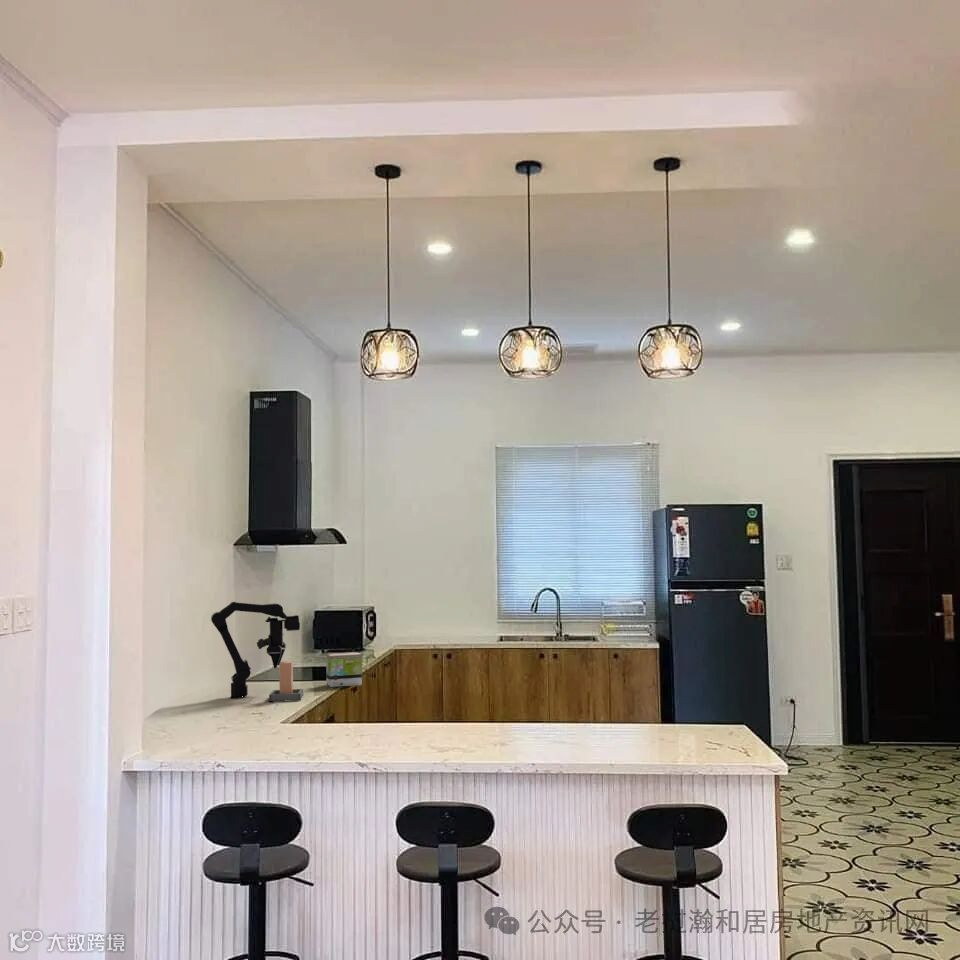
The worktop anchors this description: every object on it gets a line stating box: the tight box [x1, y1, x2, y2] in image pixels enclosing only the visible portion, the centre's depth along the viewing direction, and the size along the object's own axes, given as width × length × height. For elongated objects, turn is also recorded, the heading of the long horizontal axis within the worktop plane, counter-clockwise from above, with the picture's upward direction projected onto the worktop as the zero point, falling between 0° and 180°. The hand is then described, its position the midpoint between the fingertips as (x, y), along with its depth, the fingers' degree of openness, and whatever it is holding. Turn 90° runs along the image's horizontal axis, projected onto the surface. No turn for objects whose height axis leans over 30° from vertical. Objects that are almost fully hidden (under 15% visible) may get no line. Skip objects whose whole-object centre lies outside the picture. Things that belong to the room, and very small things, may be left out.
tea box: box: [325, 651, 363, 688], centre depth 416 cm, size 15×10×15 cm
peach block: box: [278, 660, 294, 694], centre depth 381 cm, size 5×6×15 cm
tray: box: [268, 688, 304, 702], centre depth 380 cm, size 13×13×3 cm
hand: (276, 666), depth 396 cm, fingers open, 9 cm apart
